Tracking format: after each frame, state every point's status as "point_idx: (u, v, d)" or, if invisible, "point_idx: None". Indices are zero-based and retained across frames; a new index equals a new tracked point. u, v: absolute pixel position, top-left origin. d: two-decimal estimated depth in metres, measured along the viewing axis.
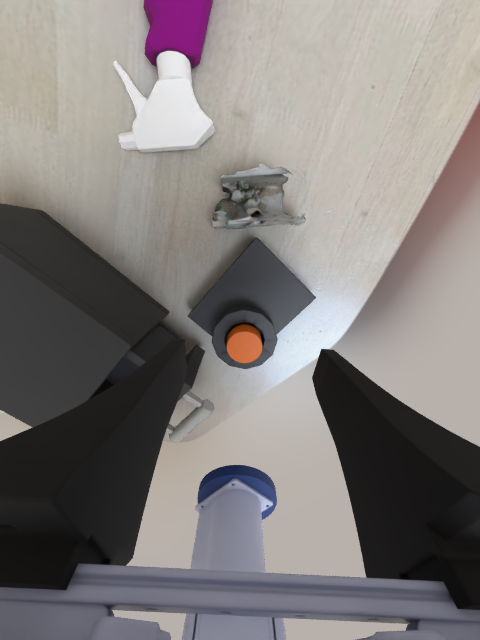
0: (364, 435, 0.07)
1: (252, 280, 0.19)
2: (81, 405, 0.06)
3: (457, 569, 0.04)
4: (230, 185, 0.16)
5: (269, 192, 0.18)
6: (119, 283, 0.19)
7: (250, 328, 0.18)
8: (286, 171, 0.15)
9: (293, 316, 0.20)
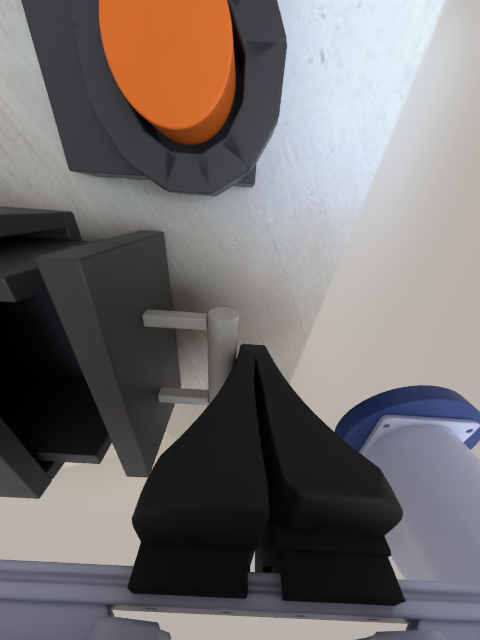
0: (261, 429, 0.07)
1: None
2: (207, 412, 0.06)
3: (288, 560, 0.04)
4: None
5: None
6: None
7: None
8: None
9: None
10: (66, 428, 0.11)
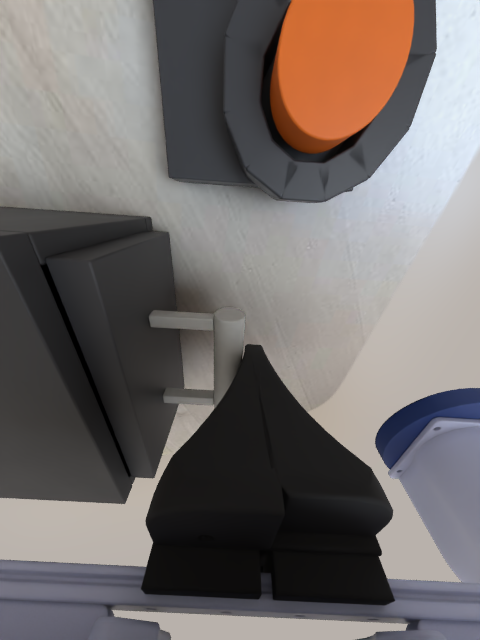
0: None
1: None
2: (216, 413, 0.06)
3: (279, 560, 0.04)
4: None
5: None
6: (23, 211, 0.09)
7: None
8: None
9: None
10: None
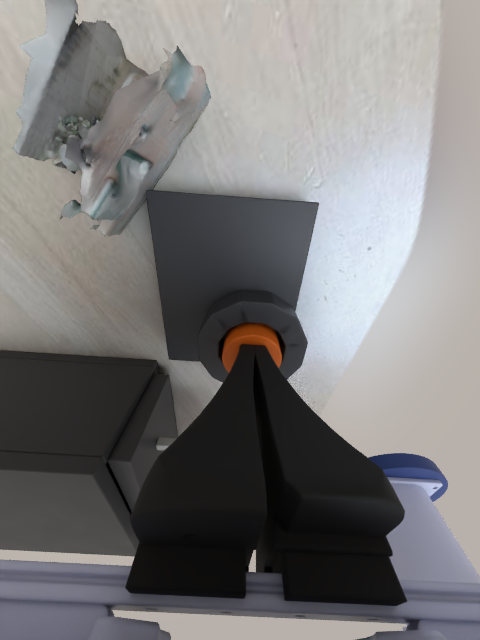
0: (262, 429, 0.07)
1: (199, 259, 0.11)
2: (206, 412, 0.06)
3: (290, 561, 0.04)
4: (56, 151, 0.08)
5: None
6: (76, 374, 0.15)
7: (242, 327, 0.11)
8: None
9: (302, 263, 0.11)
10: None
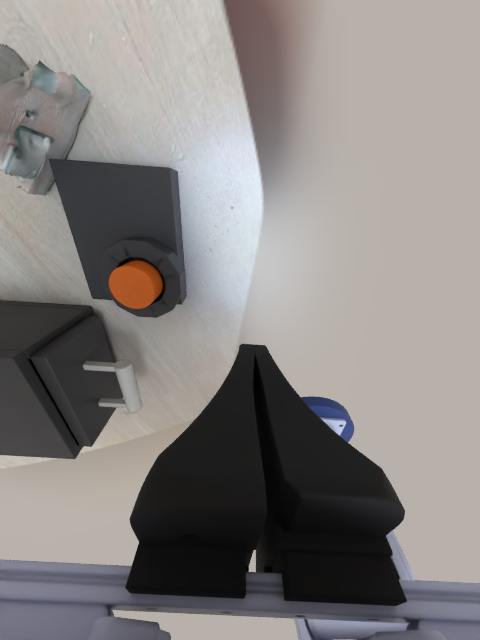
0: (262, 429, 0.07)
1: (96, 211, 0.15)
2: (206, 412, 0.06)
3: (290, 561, 0.04)
4: None
5: None
6: (22, 311, 0.19)
7: (125, 264, 0.14)
8: None
9: (171, 214, 0.15)
10: None
